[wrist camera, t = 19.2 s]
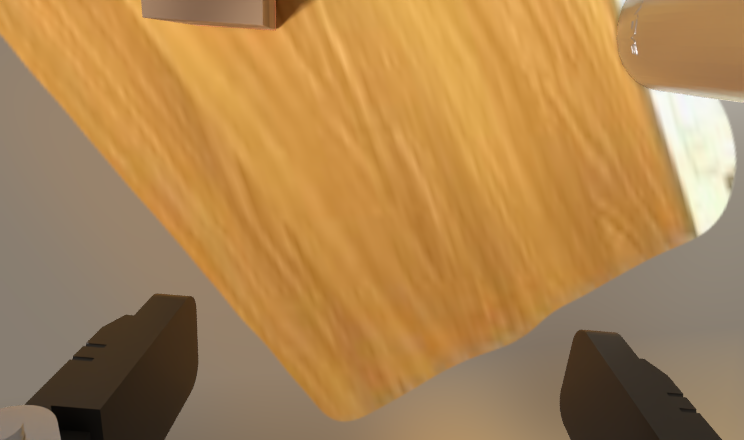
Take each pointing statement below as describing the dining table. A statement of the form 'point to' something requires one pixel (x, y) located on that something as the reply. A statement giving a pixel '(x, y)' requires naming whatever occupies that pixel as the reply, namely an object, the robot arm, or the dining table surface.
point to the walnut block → (214, 12)
